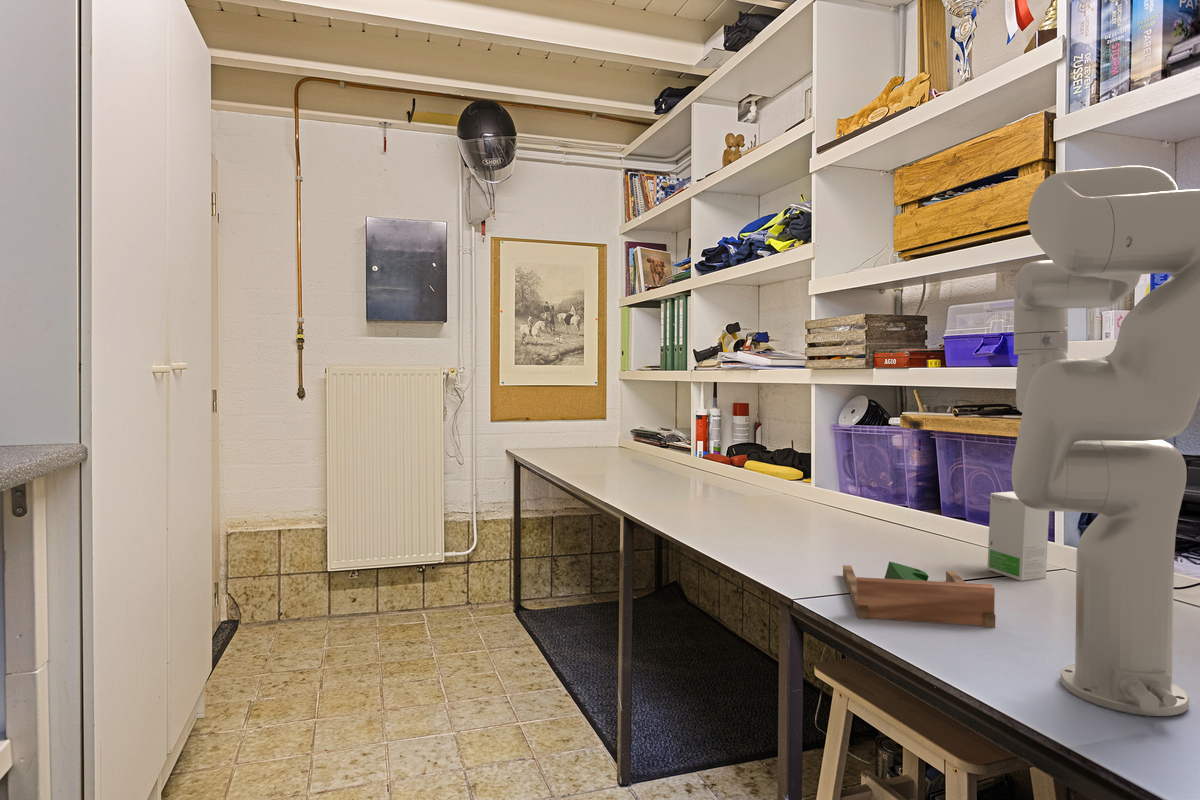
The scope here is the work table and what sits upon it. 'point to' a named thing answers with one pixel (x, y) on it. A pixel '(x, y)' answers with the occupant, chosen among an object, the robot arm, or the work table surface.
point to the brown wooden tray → (922, 599)
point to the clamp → (904, 572)
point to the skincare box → (1017, 538)
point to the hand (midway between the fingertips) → (1040, 456)
